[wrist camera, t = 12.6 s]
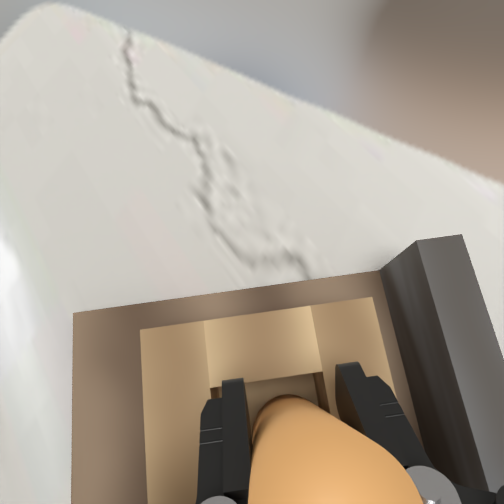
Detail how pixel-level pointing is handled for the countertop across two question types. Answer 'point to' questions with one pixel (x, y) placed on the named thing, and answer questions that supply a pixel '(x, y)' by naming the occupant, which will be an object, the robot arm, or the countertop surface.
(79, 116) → the countertop surface
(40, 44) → the countertop surface
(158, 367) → the socket block
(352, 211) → the countertop surface
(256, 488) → the dowel
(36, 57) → the countertop surface
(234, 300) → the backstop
